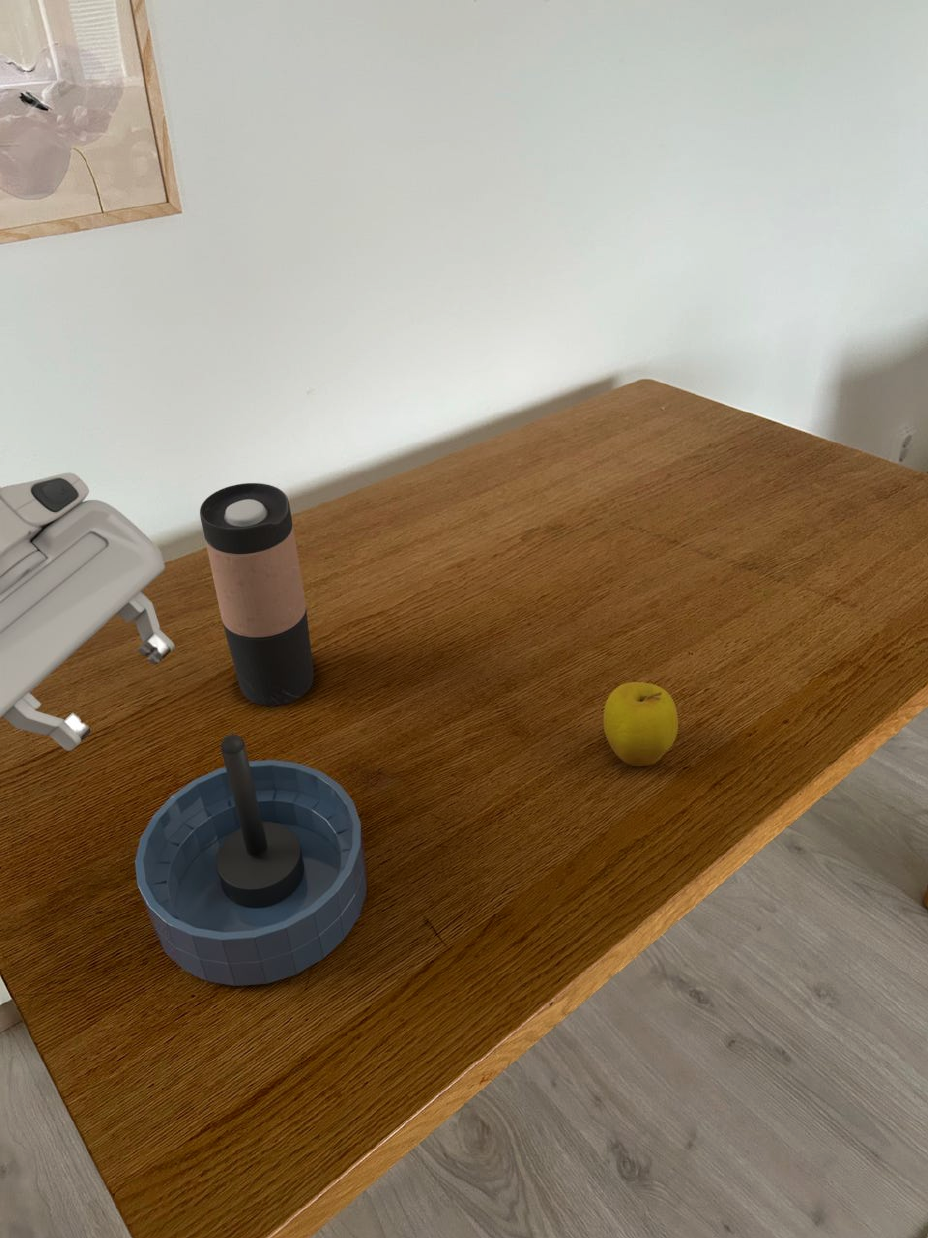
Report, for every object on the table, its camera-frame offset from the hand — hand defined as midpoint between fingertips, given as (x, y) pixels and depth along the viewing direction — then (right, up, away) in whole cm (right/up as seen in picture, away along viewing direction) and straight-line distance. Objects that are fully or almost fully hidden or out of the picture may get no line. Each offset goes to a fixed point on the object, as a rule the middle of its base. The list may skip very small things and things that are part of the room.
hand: (125, 696), depth 69 cm
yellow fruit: (+39, -7, +18) cm, 43 cm away
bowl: (+8, -16, +7) cm, 19 cm away
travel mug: (+6, -1, +26) cm, 27 cm away
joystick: (+8, -14, +7) cm, 18 cm away
